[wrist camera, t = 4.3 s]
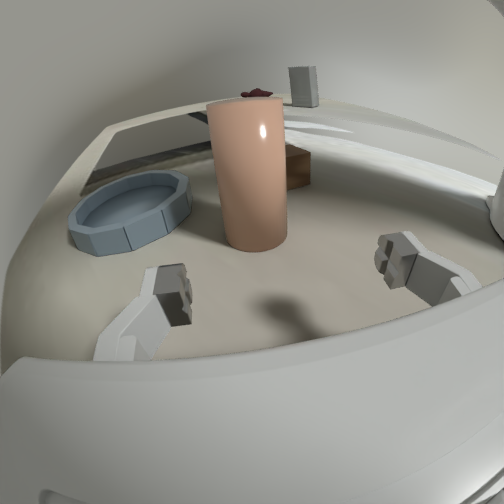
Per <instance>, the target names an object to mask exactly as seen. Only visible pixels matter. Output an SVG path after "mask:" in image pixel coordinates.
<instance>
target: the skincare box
mask: <svg viewBox="0 0 504 504" xmlns="http://www.w3.org/2000/svg"><path fill="white" fill-rule="evenodd" d="M288 68H289V77H290V86H291V97H292V106H295V107H315V106H319V98H318V85H317V75H316V67H315V66H301V67H288Z"/></svg>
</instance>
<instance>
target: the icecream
mask: <svg viewBox="0 0 504 504" xmlns="http://www.w3.org/2000/svg"><path fill="white" fill-rule="evenodd" d="M272 94H273V93H272V92H267V91H262V90H260V89H258V88H256V89H254V90H252V91H251V92H250V93H247V92H243V93H241V96H242V97H245V98H247V97H269V96H270V95H272Z"/></svg>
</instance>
